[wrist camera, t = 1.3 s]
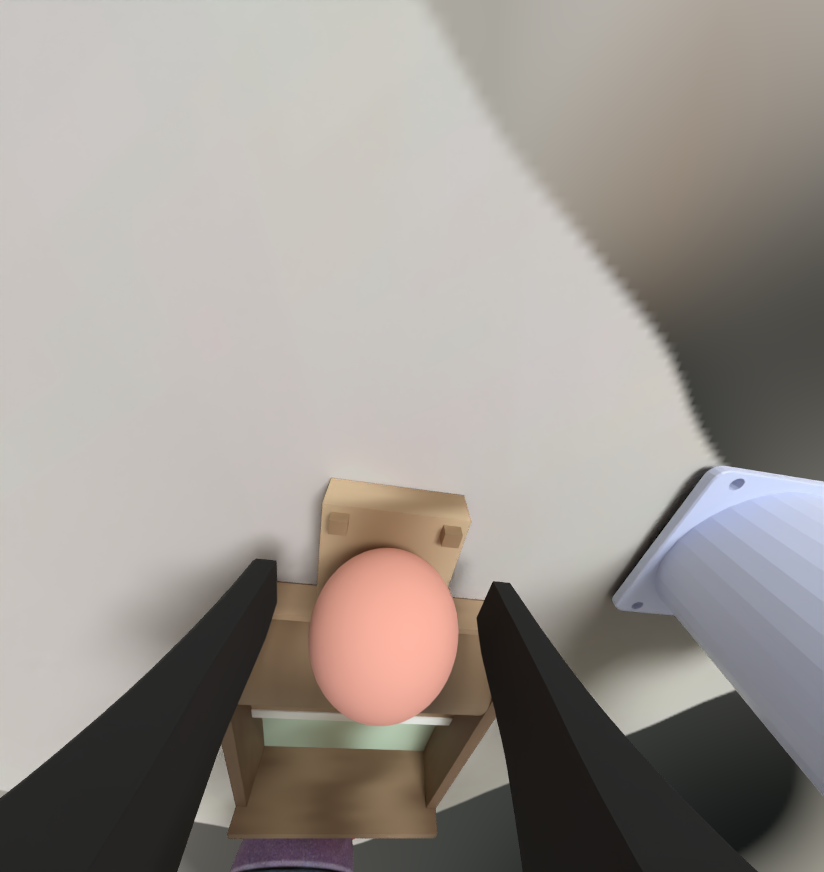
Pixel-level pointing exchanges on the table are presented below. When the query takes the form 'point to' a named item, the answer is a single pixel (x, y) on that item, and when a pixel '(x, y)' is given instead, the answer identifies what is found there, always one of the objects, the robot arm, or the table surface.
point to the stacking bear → (294, 855)
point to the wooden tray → (345, 742)
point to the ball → (383, 637)
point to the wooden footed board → (390, 525)
